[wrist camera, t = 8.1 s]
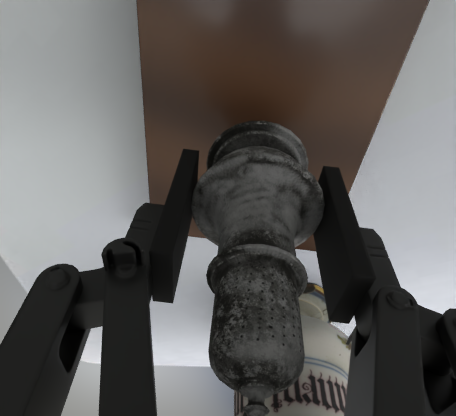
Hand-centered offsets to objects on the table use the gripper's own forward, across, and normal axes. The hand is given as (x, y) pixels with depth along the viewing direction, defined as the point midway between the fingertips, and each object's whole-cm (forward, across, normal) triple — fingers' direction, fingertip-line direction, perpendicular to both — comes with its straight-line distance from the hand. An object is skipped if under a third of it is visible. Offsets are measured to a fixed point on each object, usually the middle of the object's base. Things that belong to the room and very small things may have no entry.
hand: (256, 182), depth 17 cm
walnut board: (+7, 0, 0) cm, 7 cm away
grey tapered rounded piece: (+2, 0, 0) cm, 2 cm away
